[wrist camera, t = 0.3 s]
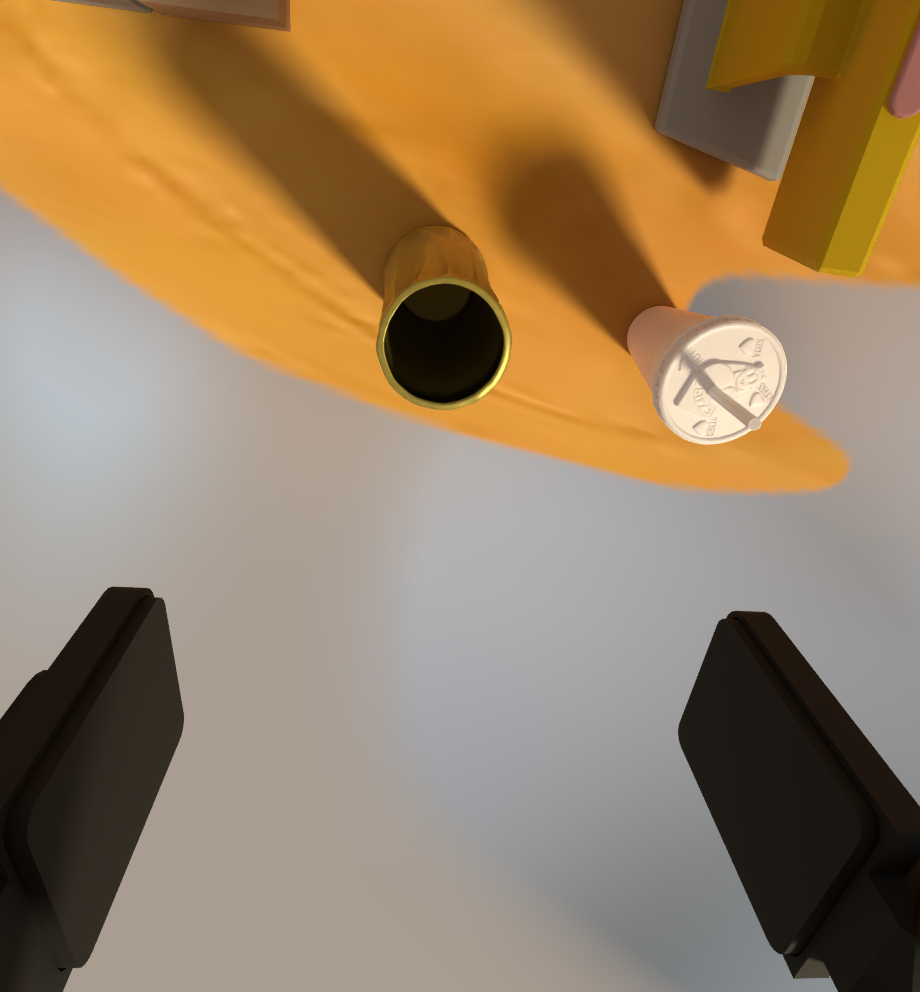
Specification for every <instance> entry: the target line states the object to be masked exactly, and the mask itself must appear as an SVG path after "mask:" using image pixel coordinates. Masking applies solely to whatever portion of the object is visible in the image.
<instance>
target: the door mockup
mask: <svg viewBox="0 0 920 992" xmlns="http://www.w3.org/2000/svg"><path fill="white" fill-rule="evenodd" d="M54 1H62V2H69V3H77V4H85V5H92V6H100V7H107V8H115V9H122V10H130V11H138V12H145V13H151V9H153V10H155V11H156V12H158V13H160V14H162V15H168V16H175V17H183V18H191V19H198V20H206V21H213V22H221V23H228V24H236V25H244V26H251V27H259V28H266V29H274V30H281V31H289V32H290V0H54Z"/></svg>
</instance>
